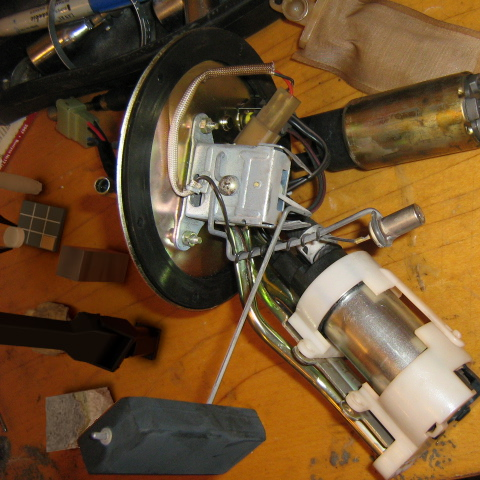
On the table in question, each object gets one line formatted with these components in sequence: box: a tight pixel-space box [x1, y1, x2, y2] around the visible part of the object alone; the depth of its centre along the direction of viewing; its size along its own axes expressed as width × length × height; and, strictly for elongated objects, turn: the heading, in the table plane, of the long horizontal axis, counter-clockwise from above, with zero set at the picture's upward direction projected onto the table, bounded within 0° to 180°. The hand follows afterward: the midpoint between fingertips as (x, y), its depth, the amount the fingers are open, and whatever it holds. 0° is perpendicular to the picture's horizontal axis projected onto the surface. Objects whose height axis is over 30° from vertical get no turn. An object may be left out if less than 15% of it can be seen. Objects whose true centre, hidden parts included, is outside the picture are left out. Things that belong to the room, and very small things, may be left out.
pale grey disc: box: [3, 226, 25, 249], centre depth 97 cm, size 5×5×1 cm
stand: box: [55, 244, 131, 284], centre depth 93 cm, size 6×6×12 cm
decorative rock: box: [24, 301, 72, 357], centre depth 101 cm, size 11×4×15 cm
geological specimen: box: [44, 386, 115, 453], centre depth 94 cm, size 11×6×15 cm
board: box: [17, 199, 68, 253], centre depth 107 cm, size 14×10×1 cm
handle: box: [0, 171, 43, 195], centre depth 103 cm, size 5×6×15 cm
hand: (14, 236), depth 97 cm, fingers closed on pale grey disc, 4 cm apart
